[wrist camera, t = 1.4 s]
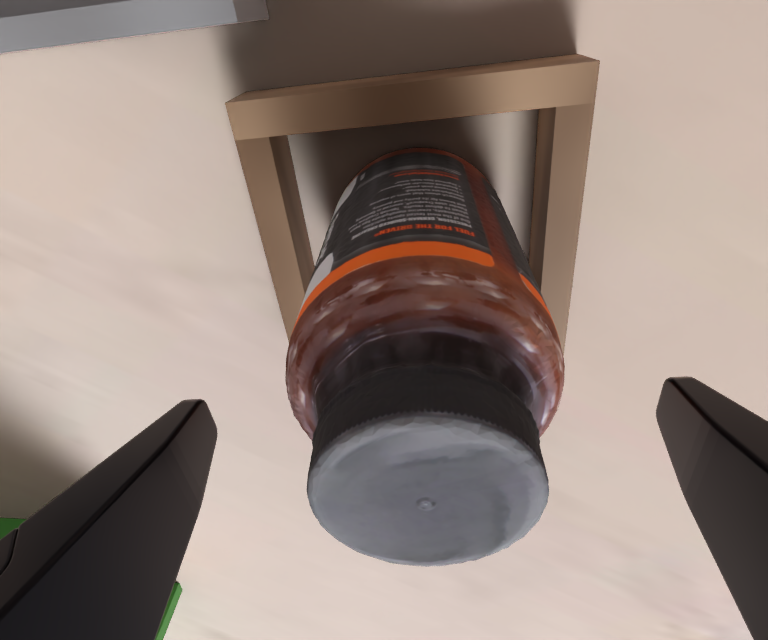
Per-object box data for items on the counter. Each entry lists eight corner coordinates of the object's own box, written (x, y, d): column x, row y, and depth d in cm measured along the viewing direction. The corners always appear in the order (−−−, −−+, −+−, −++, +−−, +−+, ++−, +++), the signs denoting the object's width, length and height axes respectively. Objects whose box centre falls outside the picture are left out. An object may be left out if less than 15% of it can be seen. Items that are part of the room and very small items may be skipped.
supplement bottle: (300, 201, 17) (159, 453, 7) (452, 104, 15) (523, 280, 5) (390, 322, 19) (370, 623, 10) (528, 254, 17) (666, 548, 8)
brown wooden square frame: (577, 53, 14) (600, 60, 12) (549, 334, 19) (562, 365, 18) (246, 92, 15) (224, 102, 13) (307, 348, 20) (298, 379, 19)
